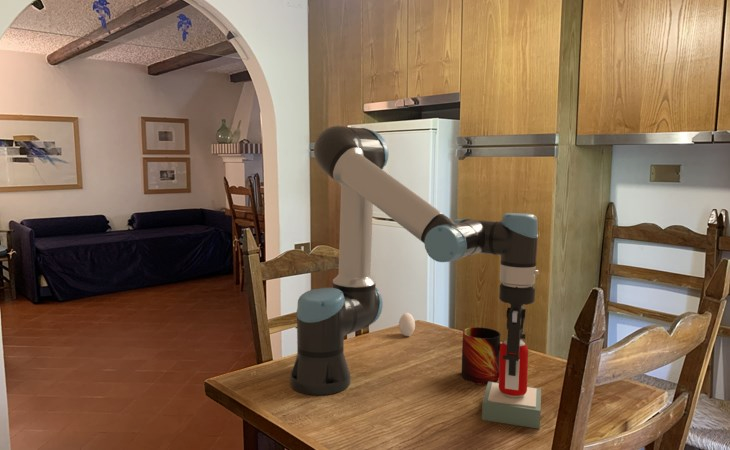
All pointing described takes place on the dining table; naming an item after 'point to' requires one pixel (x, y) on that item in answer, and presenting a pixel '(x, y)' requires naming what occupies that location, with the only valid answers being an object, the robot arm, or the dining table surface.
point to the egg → (406, 324)
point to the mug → (480, 355)
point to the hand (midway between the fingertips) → (513, 377)
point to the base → (512, 407)
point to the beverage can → (522, 370)
